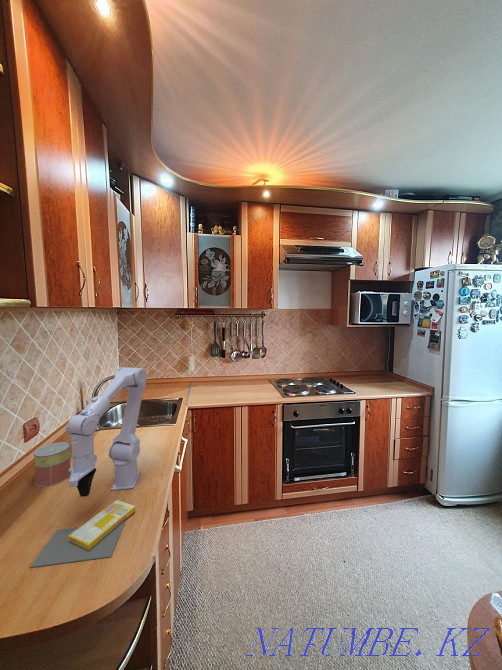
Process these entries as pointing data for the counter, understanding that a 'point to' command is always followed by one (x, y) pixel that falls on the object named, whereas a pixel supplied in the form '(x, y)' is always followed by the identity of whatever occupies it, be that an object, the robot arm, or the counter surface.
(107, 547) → the mat
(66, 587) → the counter surface
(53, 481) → the canned food
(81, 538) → the candy box
